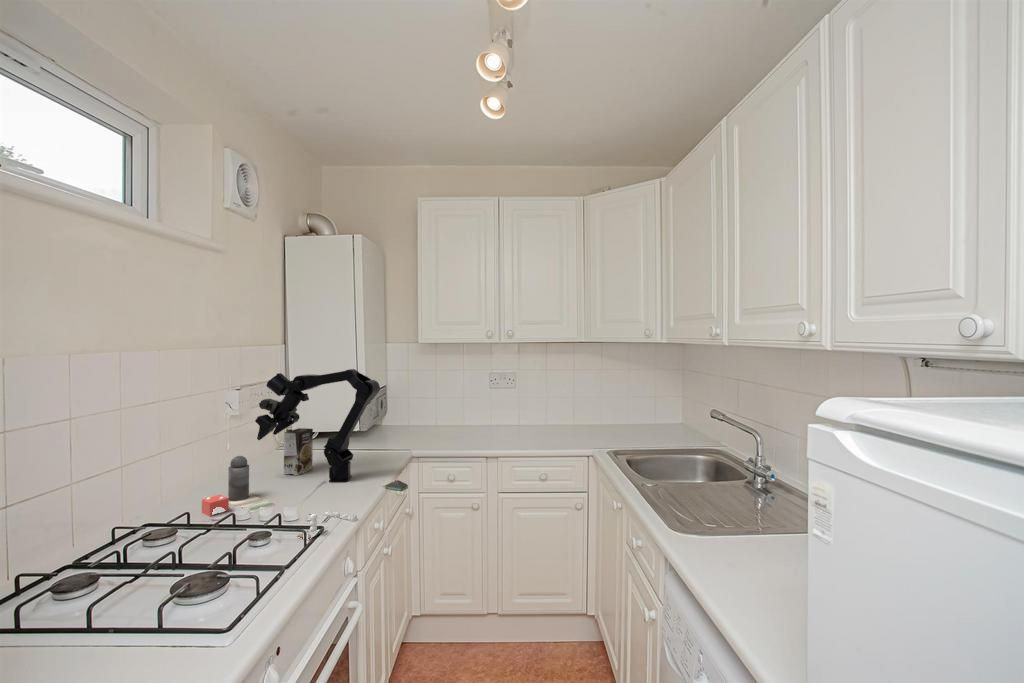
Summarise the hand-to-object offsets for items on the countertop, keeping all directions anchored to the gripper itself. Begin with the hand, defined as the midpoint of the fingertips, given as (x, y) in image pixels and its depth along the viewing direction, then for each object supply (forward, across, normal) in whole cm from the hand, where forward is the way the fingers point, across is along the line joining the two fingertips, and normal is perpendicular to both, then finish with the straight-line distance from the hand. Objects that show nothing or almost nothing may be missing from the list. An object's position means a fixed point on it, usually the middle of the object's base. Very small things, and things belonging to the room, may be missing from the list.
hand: (266, 436), depth 172 cm
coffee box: (+7, -7, +16) cm, 19 cm away
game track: (+4, +29, +20) cm, 35 cm away
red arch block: (+6, +37, +16) cm, 41 cm away
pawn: (+6, +26, +15) cm, 30 cm away
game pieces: (-15, +26, +47) cm, 56 cm away
